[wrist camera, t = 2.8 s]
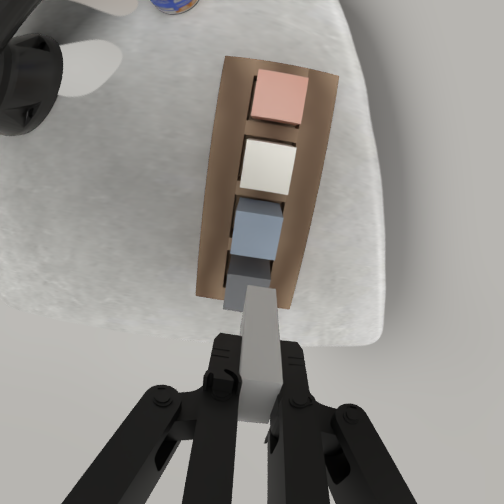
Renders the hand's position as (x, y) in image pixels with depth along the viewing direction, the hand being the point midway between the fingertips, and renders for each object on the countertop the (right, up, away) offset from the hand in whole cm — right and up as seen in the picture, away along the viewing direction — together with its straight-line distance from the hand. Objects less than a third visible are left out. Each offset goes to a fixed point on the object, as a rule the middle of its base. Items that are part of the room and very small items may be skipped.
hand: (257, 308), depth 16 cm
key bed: (+1, +11, +16) cm, 19 cm away
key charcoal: (-1, +1, +16) cm, 17 cm away
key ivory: (+1, +12, +12) cm, 17 cm away
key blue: (0, +6, +14) cm, 16 cm away
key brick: (+2, +17, +9) cm, 20 cm away
